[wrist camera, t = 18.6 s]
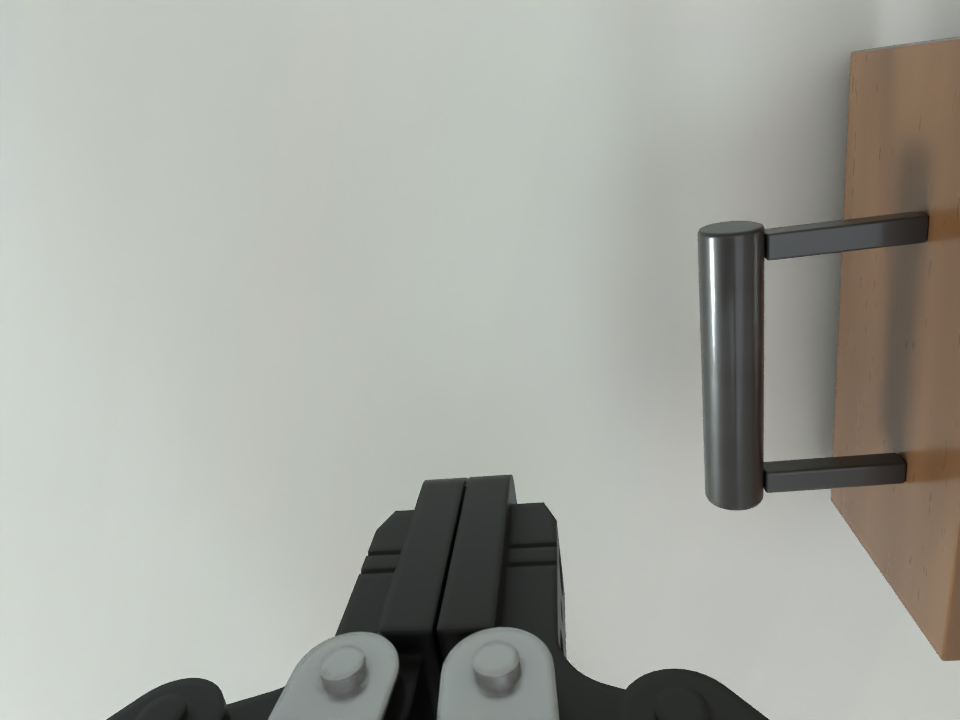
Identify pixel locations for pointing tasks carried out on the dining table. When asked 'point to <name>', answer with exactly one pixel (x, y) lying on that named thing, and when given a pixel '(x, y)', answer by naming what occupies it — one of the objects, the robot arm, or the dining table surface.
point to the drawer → (863, 336)
